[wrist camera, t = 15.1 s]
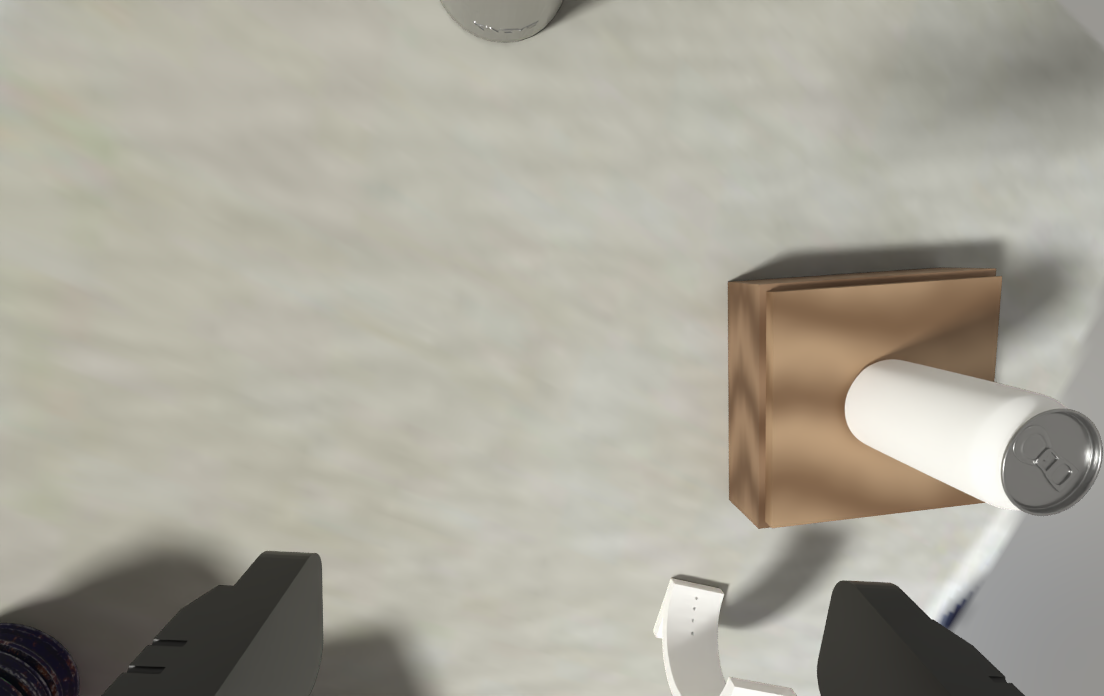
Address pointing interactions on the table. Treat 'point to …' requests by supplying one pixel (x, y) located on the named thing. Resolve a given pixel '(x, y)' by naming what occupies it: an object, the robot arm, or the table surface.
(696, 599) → the white curved piece
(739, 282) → the podium
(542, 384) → the table surface
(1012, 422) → the can
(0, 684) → the storage jar
